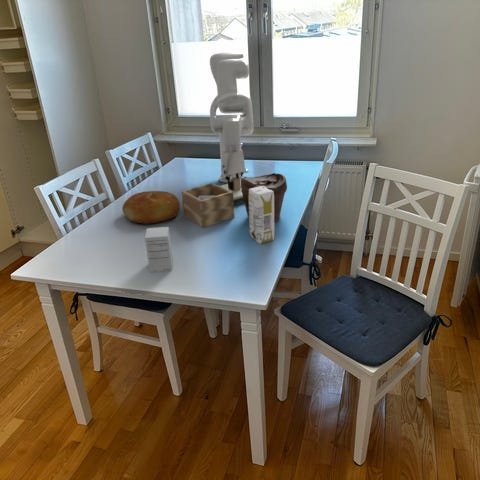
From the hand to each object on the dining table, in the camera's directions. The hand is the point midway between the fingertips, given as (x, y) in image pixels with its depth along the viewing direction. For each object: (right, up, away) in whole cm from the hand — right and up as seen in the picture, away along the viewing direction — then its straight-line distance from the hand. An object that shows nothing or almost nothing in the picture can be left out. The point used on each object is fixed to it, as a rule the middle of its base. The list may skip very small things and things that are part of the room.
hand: (234, 187), depth 199 cm
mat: (0, -4, +2) cm, 5 cm away
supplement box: (-24, -32, -52) cm, 65 cm away
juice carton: (+11, -23, -36) cm, 44 cm away
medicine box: (-10, -14, -17) cm, 24 cm away
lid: (0, -1, +1) cm, 2 cm away
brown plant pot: (+12, -14, -19) cm, 27 cm away
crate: (-10, -14, -17) cm, 24 cm away
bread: (-34, -13, -13) cm, 39 cm away
